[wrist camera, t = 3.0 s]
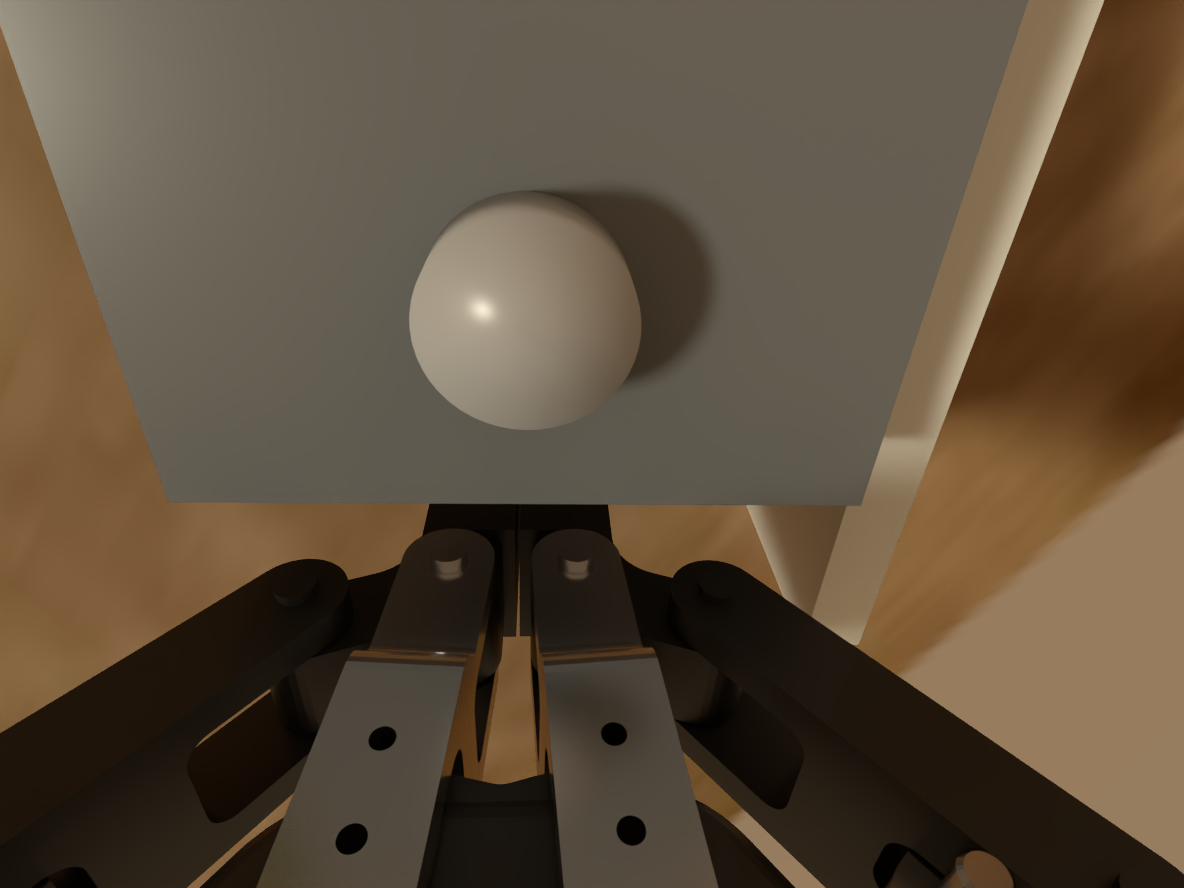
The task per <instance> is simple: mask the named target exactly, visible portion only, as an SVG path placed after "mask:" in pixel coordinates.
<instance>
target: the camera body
mask: <svg viewBox="0 0 1184 888" xmlns="http://www.w3.org/2000/svg"><path fill="white" fill-rule="evenodd" d="M1027 3H1028V0H0V26H1V29H2V31H3V34H4V37H5V40H6V43H7V46H8V48H9V51H10V54H11V57H12V60H13V63H14V65H15V68H16V71H17V74H18V77H19V80H20V83H21V85H22V88H23V91H24V94H25V97H26V100H27V102H28V105H29V108H30V111H31V114H32V117H33V119H34V122H35V125H36V128H37V131H38V134H39V136H40V139H41V142H42V145H43V148H44V151H45V154H46V156H47V159H48V162H49V165H50V168H51V171H52V173H53V176H54V179H55V182H56V185H57V188H58V190H59V193H60V196H61V199H62V202H63V205H64V207H65V210H66V213H67V216H68V219H69V222H70V225H71V227H72V230H73V233H74V236H75V239H76V242H77V244H78V247H79V250H80V253H81V256H82V259H83V261H84V264H85V267H86V270H87V273H88V276H89V278H90V281H91V284H92V287H93V290H94V293H95V295H96V298H97V301H98V304H99V307H100V310H101V313H102V315H103V318H104V321H105V324H106V327H107V330H108V332H109V335H110V338H111V341H112V344H113V347H114V349H115V352H116V355H117V358H118V361H119V364H120V366H121V369H122V372H123V375H124V378H125V381H126V384H127V386H128V389H129V392H130V395H131V398H132V401H133V403H134V406H135V409H136V412H137V415H138V418H139V420H140V423H141V426H142V429H143V432H144V435H145V437H146V440H147V443H148V446H149V449H150V452H151V455H152V457H153V460H154V463H155V466H156V469H157V472H158V474H159V477H160V480H161V483H162V486H163V489H164V491H165V494H166V497H167V500H168V502H240V503H428V504H616V505H805V506H861V504H862V501H863V498H864V495H865V492H866V489H867V486H868V483H869V480H870V477H871V474H872V471H873V468H874V465H875V462H876V459H877V456H878V453H879V450H880V447H881V444H882V441H883V438H884V435H885V432H886V429H887V425H888V422H889V419H890V416H891V413H892V410H893V407H894V404H895V401H896V398H897V395H898V392H899V389H900V386H901V383H902V380H903V377H904V374H905V371H906V368H907V365H908V362H909V359H910V356H911V353H912V350H913V347H914V344H915V341H916V338H917V335H918V332H919V329H920V326H921V323H922V320H923V317H924V314H925V311H926V308H927V305H928V302H929V299H930V296H931V293H932V290H933V287H934V284H935V281H936V278H937V275H938V272H939V269H940V266H941V263H942V260H943V257H944V254H945V251H946V248H947V245H948V242H949V239H950V236H951V233H952V230H953V227H954V224H955V220H956V217H957V214H958V211H959V208H960V205H961V202H962V199H963V196H964V193H965V190H966V187H967V184H968V181H969V178H970V175H971V172H972V169H973V166H974V163H975V160H976V157H977V154H978V151H979V148H980V145H981V142H982V139H983V136H984V133H985V130H986V127H987V124H988V121H989V118H990V115H991V112H992V109H993V106H994V103H995V100H996V97H997V94H998V91H999V88H1000V85H1001V82H1002V79H1003V76H1004V73H1005V70H1006V67H1007V64H1008V61H1009V58H1010V55H1011V52H1012V49H1013V46H1014V43H1015V40H1016V37H1017V34H1018V31H1019V28H1020V25H1021V22H1022V19H1023V16H1024V12H1025V9H1026V6H1027Z"/></svg>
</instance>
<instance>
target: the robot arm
mask: <svg viewBox="0 0 1184 888" xmlns="http://www.w3.org/2000/svg"><path fill="white" fill-rule="evenodd" d="M519 560H520V636H531V693H532V707H533V721H534V736H535V750H536V764H537V776H534V777H530V778H527V779H523V780H520V781H516V782H512V783H508V784H492V783H487V782H483V781H482V778H483V771H484V765H485V758H486V752H487V746H488V740H489V733H490V727H491V721H492V715H493V708H494V702H495V696H496V690H497V684H498V674H499V673H498V666H499V664H500V661H501V657H502V645H503V637H516V625H517V603H518V581H519ZM268 689H270V690H271V692H269V693H268V694H267V695H265V696H264V697H263V698H261V699H260V700H259V701H257V702H256V703H255V704H253V705H252V706H251V707H249V708H248V709H247V710H245V711H244V712H243V713H241V714H240V715H238V716H237V717H236V718H234V719H233V720H232V721H230V722H229V723H228V724H226V725H225V726H224V727H222V728H221V729H220V730H218V731H217V732H216V733H214V734H213V735H212V736H210V737H209V738H208V739H206V740H205V741H204V742H202V743H201V744H200V745H198V743H199V742H200V741H201V740H202V739H203V738H204V737H205V736H207V735H208V734H209V733H210V732H212V731H213V730H214V729H216V728H217V727H218V726H220V725H221V724H222V723H224V722H225V721H227V720H228V719H229V718H231V717H232V716H233V715H235V714H236V713H237V712H239V711H240V710H241V709H243V708H244V707H245V706H247V705H248V704H249V703H251V702H252V701H253V700H255V699H256V698H258V697H259V696H260V695H262V694H263V693H264V692H266V691H267V690H268ZM197 745H198V746H197ZM196 746H197V747H196ZM195 747H196V748H195ZM682 751H683V752H684V753H685V754H686V755H687V756H688V757H690V758H691V759H692V760H693V761H694V762H695V763H696V764H697V765H698V766H699V767H700V768H701V769H702V770H703V771H704V772H705V773H706V774H707V775H708V776H709V777H710V778H712V779H713V780H714V781H715V782H716V783H717V784H718V785H719V786H720V787H721V788H722V789H723V790H724V791H725V792H726V793H727V794H728V795H729V796H730V797H731V798H732V799H734V800H735V801H736V802H737V803H738V804H739V805H740V806H741V807H742V808H743V809H744V810H745V811H746V812H747V813H748V814H749V815H750V816H751V817H752V818H754V820H756V821H757V822H758V823H759V824H760V825H761V826H762V827H763V828H764V829H765V830H766V831H767V832H768V833H769V834H770V835H771V836H772V837H773V838H774V839H776V841H777V842H779V843H780V844H781V845H782V846H783V847H784V848H785V849H786V850H787V851H788V852H789V853H790V854H791V855H792V856H793V857H794V858H795V859H796V860H797V861H798V862H799V863H801V864H802V865H803V866H804V867H805V868H806V869H807V870H808V871H809V872H810V873H811V874H812V875H813V876H814V877H815V878H816V879H817V880H818V881H819V882H820V883H821V884H823V885H824V886H825V887H826V888H1184V874H1183V873H1181V872H1180V871H1179V870H1178V869H1177V868H1176V867H1174V866H1173V865H1172V864H1170V863H1169V862H1167V861H1166V860H1165V859H1164V858H1162V857H1161V856H1159V855H1158V854H1156V853H1155V852H1153V851H1152V850H1150V849H1149V848H1147V847H1146V846H1144V845H1143V844H1142V843H1140V842H1139V841H1137V840H1136V839H1134V838H1133V837H1131V836H1130V835H1129V834H1127V833H1126V832H1124V831H1123V830H1121V829H1120V828H1118V827H1117V826H1115V825H1114V824H1113V823H1111V822H1110V821H1108V820H1107V819H1105V818H1104V817H1102V816H1101V815H1099V814H1098V813H1096V812H1095V811H1094V810H1092V809H1091V808H1089V807H1088V806H1086V805H1085V804H1083V803H1082V802H1080V801H1079V800H1078V799H1076V798H1075V797H1073V796H1072V795H1070V794H1069V793H1067V792H1066V791H1064V790H1063V789H1062V788H1060V787H1058V786H1057V785H1056V784H1054V783H1053V782H1051V781H1050V780H1048V779H1047V778H1046V777H1044V776H1042V775H1041V774H1040V773H1038V772H1037V771H1035V770H1034V769H1032V768H1031V767H1030V766H1028V765H1026V764H1025V763H1024V762H1022V761H1020V760H1019V759H1018V758H1016V757H1015V756H1013V755H1012V754H1010V753H1009V752H1008V751H1006V750H1005V749H1003V748H1002V747H1000V746H999V745H997V744H996V743H994V742H993V741H992V740H990V739H989V738H987V737H986V736H984V735H983V734H981V733H980V732H979V731H977V730H976V729H974V728H973V727H971V726H970V725H968V724H967V723H965V722H964V721H962V720H961V719H959V718H958V717H956V716H955V715H954V714H952V713H951V712H949V711H948V710H946V709H945V708H944V707H942V706H941V705H939V704H938V703H936V702H935V701H933V700H932V699H930V698H929V697H928V696H926V695H925V694H923V693H922V692H920V691H919V690H917V689H916V688H914V687H913V686H912V685H910V684H909V683H907V682H906V681H904V680H903V679H901V678H900V677H898V676H897V675H896V674H894V673H893V672H891V671H890V670H888V669H887V668H885V667H884V666H882V665H881V664H880V663H878V662H877V661H875V660H874V659H872V658H871V657H869V656H868V655H866V654H865V653H864V652H862V651H861V650H859V649H858V648H856V647H855V646H853V645H852V644H850V643H849V642H847V641H846V640H845V639H843V638H842V637H840V636H839V635H837V634H836V633H834V632H833V631H831V630H830V629H829V628H827V627H826V626H824V625H823V624H821V623H820V622H818V621H817V620H815V619H814V618H813V617H811V616H810V615H808V614H807V613H805V612H804V611H802V610H801V609H799V608H798V607H797V606H795V605H794V604H792V603H791V602H789V601H788V600H786V599H785V598H783V597H782V596H780V595H779V594H778V593H776V592H775V591H773V590H772V589H770V588H769V587H767V586H766V585H764V584H763V583H762V582H760V581H759V580H757V579H756V578H754V577H753V576H751V575H750V574H748V573H747V572H745V571H744V570H742V569H740V568H738V567H736V566H734V565H731V564H728V563H725V562H720V561H711V560H706V561H697V562H693V563H690V564H687V565H685V566H683V567H682V568H681V569H679V570H678V571H677V572H676V574H675V575H674V577H673V578H670V577H666V576H662V575H658V574H654V573H651V572H647V571H644V570H642V569H639V568H637V567H635V566H634V565H632V564H630V563H629V562H628V561H626V560H625V559H624V558H623V557H622V556H621V555H620V554H619V551H618V549H617V548H616V546H615V545H614V544H613V540H612V534H611V526H610V518H609V510H608V504H429V509H428V513H427V517H426V522H425V526H424V531H423V535H422V537H420V538H418V539H417V540H415V541H414V542H413V543H412V544H411V545H410V546H409V547H408V548H407V550H406V551H405V553H404V556H403V558H402V561H401V563H400V564H399V565H397V566H395V567H393V568H391V569H388V570H386V571H383V572H380V573H376V574H372V575H368V576H364V577H359V578H355V579H351V580H348V578H347V576H346V574H345V572H344V571H343V570H342V569H341V568H340V567H339V566H337V565H335V564H333V563H331V562H328V561H325V560H319V559H302V560H296V561H291V562H288V563H284V564H282V565H279V566H277V567H275V568H273V569H271V570H269V571H267V572H265V573H264V574H262V575H260V576H259V577H257V578H256V579H254V580H252V581H251V582H249V583H247V584H246V585H244V586H242V587H241V588H239V589H237V590H236V591H234V592H232V593H231V594H229V595H227V596H226V597H224V598H223V599H221V600H219V601H218V602H216V603H214V604H213V605H211V606H209V607H208V608H206V609H204V610H203V611H201V612H199V613H198V614H196V615H195V616H193V617H191V618H190V619H188V620H186V621H185V622H183V623H181V624H180V625H178V626H176V627H175V628H173V629H171V630H170V631H168V632H167V633H165V634H163V635H162V636H160V637H158V638H157V639H155V640H153V641H152V642H150V643H148V644H147V645H145V646H143V647H142V648H140V649H138V650H137V651H135V652H134V653H132V654H130V655H129V656H127V657H125V658H124V659H122V660H120V661H119V662H117V663H115V664H114V665H112V666H110V667H109V668H107V669H106V670H104V671H102V672H101V673H99V674H97V675H96V676H94V677H92V678H91V679H89V680H87V681H86V682H84V683H82V684H81V685H79V686H77V687H76V688H74V689H73V690H71V691H69V692H68V693H66V694H64V695H63V696H61V697H59V698H58V699H56V700H54V701H53V702H51V703H49V704H48V705H46V706H45V707H43V708H41V709H40V710H38V711H36V712H35V713H33V714H31V715H30V716H28V717H26V718H25V719H23V720H21V721H20V722H18V723H16V724H15V725H13V726H12V727H10V728H8V729H7V730H5V731H3V732H2V733H0V888H187V887H188V886H189V885H190V884H191V883H192V882H194V881H195V880H196V879H197V878H198V877H199V876H200V875H201V874H203V873H204V872H205V871H206V870H207V869H208V868H209V867H211V866H212V865H213V864H214V863H215V862H216V861H217V860H218V859H220V858H221V857H222V856H223V855H224V854H225V853H226V852H227V851H229V850H230V849H231V848H232V847H233V846H234V845H235V844H236V843H238V842H239V841H240V840H241V839H242V838H243V837H244V836H245V835H247V834H248V833H249V832H250V831H251V830H252V829H253V828H255V827H256V826H257V825H258V824H259V823H260V822H261V821H262V820H264V819H265V818H266V817H267V816H268V815H269V814H270V813H271V812H273V811H274V810H275V809H276V808H277V807H278V806H279V805H280V804H282V803H283V802H284V801H285V800H286V799H287V798H288V797H290V796H291V795H292V794H293V793H294V794H293V796H292V799H291V801H290V804H289V806H288V809H287V811H286V814H285V816H284V818H282V819H281V820H279V821H278V822H276V823H274V824H273V825H271V826H270V827H268V828H266V829H265V830H264V831H263V832H261V833H260V834H259V835H257V836H256V837H255V838H253V839H252V840H251V841H250V842H248V843H247V844H246V845H245V846H244V847H243V848H241V849H240V850H239V851H238V852H237V853H236V854H235V855H234V856H233V857H232V858H231V859H229V860H228V861H227V862H226V863H225V864H224V865H223V866H222V867H221V868H220V869H219V870H218V871H217V872H216V873H215V874H214V875H213V876H211V877H210V878H209V879H208V880H207V881H206V882H205V883H204V884H203V885H202V886H201V887H200V888H795V887H794V886H793V885H792V884H791V883H790V882H789V881H788V880H787V879H786V878H785V877H784V876H783V874H782V873H781V872H780V871H779V870H778V869H777V868H776V867H775V866H774V865H773V864H772V863H771V862H770V861H769V860H768V859H767V858H766V857H765V856H764V855H763V854H762V853H761V852H760V850H759V849H758V848H757V847H756V846H755V845H754V844H753V843H752V842H751V841H750V840H749V839H748V838H747V837H746V836H745V835H744V834H743V833H742V832H741V831H740V830H739V829H738V828H736V827H735V826H734V825H733V824H732V823H730V822H729V821H728V820H727V819H725V818H724V817H723V816H722V815H720V814H719V813H717V812H716V811H714V810H713V809H711V808H710V807H708V806H707V805H705V804H703V803H701V802H699V801H697V800H695V797H694V793H693V790H692V786H691V782H690V778H689V775H688V771H687V767H686V763H685V759H684V756H683V752H682Z"/></svg>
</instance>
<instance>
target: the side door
mask: <svg viewBox="0 0 1184 888" xmlns="http://www.w3.org/2000/svg"><path fill="white" fill-rule="evenodd" d="M1103 3H1104V0H1028V3H1027V6H1026V9H1025V12H1024V16H1023V19H1022V22H1021V25H1020V28H1019V31H1018V34H1017V37H1016V40H1015V43H1014V46H1013V49H1012V52H1011V55H1010V58H1009V61H1008V64H1007V67H1006V70H1005V73H1004V76H1003V79H1002V82H1001V85H1000V88H999V91H998V94H997V97H996V100H995V103H994V106H993V109H992V112H991V115H990V118H989V121H988V124H987V127H986V130H985V133H984V136H983V139H982V142H981V145H980V148H979V151H978V154H977V157H976V160H975V163H974V166H973V169H972V172H971V175H970V178H969V181H968V184H967V187H966V190H965V193H964V196H963V199H962V202H961V205H960V208H959V211H958V214H957V217H956V220H955V224H954V227H953V230H952V233H951V236H950V239H949V242H948V245H947V248H946V251H945V254H944V257H943V260H942V263H941V266H940V269H939V272H938V275H937V278H936V281H935V284H934V287H933V290H932V293H931V296H930V299H929V302H928V305H927V308H926V311H925V314H924V317H923V320H922V323H921V326H920V329H919V332H918V335H917V338H916V341H915V344H914V347H913V350H912V353H911V356H910V359H909V362H908V365H907V368H906V371H905V374H904V377H903V380H902V383H901V386H900V389H899V392H898V395H897V398H896V401H895V404H894V407H893V410H892V413H891V416H890V419H889V422H888V425H887V429H886V432H885V435H884V438H883V441H882V444H881V447H880V450H879V453H878V456H877V459H876V462H875V465H874V468H873V471H872V474H871V477H870V480H869V483H868V486H867V489H866V492H865V495H864V498H863V501H862V504H861V506H805V505H746V506H747V508H748V511H749V513H750V516H751V518H752V521H753V523H754V526H755V528H756V531H757V533H758V536H759V538H760V541H761V543H762V546H763V548H764V551H765V553H766V556H767V558H768V561H769V563H770V565H771V568H772V570H773V573H774V575H775V578H776V580H777V583H778V585H779V588H780V590H781V593H782V595H783V598H785V599H786V600H788V601H789V602H791V603H792V604H794V605H795V606H797V607H798V608H799V609H801V610H802V611H804V612H805V613H807V614H808V615H810V616H811V617H813V618H814V619H815V620H817V621H818V622H820V623H821V624H823V625H824V626H826V627H827V628H829V629H830V630H831V631H833V632H834V633H836V634H837V635H839V636H840V637H842V638H843V639H845V640H846V641H847V642H849V643H850V644H852V645H858V644H859V642H860V639H861V637H862V634H863V631H864V629H865V626H866V624H867V621H868V618H869V616H870V613H871V610H872V608H873V605H874V603H875V600H876V597H877V595H878V592H879V589H880V587H881V584H882V582H883V579H884V576H885V574H886V571H887V569H888V566H889V563H890V561H891V558H892V555H893V553H894V550H895V548H896V545H897V542H898V540H899V537H900V534H901V532H902V529H903V527H904V524H905V521H906V519H907V516H908V514H909V511H910V508H911V506H912V503H913V500H914V498H915V495H916V493H917V490H918V487H919V485H920V482H921V479H922V477H923V474H924V472H925V469H926V466H927V464H928V461H929V459H930V456H931V453H932V451H933V448H934V445H935V443H936V440H937V438H938V435H939V432H940V430H941V427H942V424H943V422H944V419H945V417H946V414H947V411H948V409H949V406H950V404H951V401H952V398H953V396H954V393H955V390H956V388H957V385H958V383H959V380H960V377H961V375H962V372H963V369H964V367H965V364H966V362H967V359H968V356H969V354H970V351H971V349H972V346H973V343H974V341H975V338H976V335H977V333H978V330H979V328H980V325H981V322H982V320H983V317H984V314H985V312H986V309H987V307H988V304H989V301H990V299H991V296H992V293H993V291H994V288H995V286H996V283H997V280H998V278H999V275H1000V273H1001V270H1002V267H1003V265H1004V262H1005V259H1006V257H1007V254H1008V252H1009V249H1010V246H1011V244H1012V241H1013V238H1014V236H1015V233H1016V231H1017V228H1018V225H1019V223H1020V220H1021V218H1022V215H1023V212H1024V210H1025V207H1026V204H1027V202H1028V199H1029V197H1030V194H1031V191H1032V189H1033V186H1034V183H1035V181H1036V178H1037V176H1038V173H1039V170H1040V168H1041V165H1042V163H1043V160H1044V157H1045V155H1046V152H1047V149H1048V147H1049V144H1050V142H1051V139H1052V136H1053V134H1054V131H1055V128H1056V126H1057V123H1058V121H1059V118H1060V115H1061V113H1062V110H1063V108H1064V105H1065V102H1066V100H1067V97H1068V94H1069V92H1070V89H1071V87H1072V84H1073V81H1074V79H1075V76H1076V73H1077V71H1078V68H1079V66H1080V63H1081V60H1082V58H1083V55H1084V53H1085V50H1086V47H1087V45H1088V42H1089V39H1090V37H1091V34H1092V32H1093V29H1094V26H1095V24H1096V21H1097V18H1098V16H1099V13H1100V11H1101V8H1102V5H1103Z"/></svg>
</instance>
